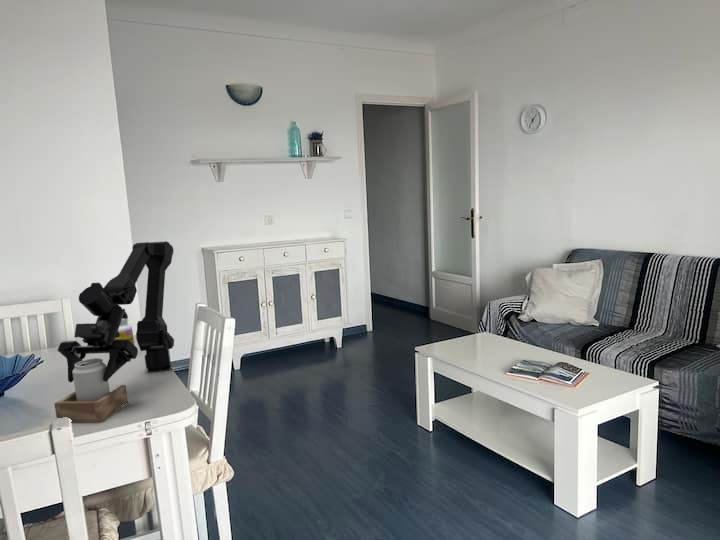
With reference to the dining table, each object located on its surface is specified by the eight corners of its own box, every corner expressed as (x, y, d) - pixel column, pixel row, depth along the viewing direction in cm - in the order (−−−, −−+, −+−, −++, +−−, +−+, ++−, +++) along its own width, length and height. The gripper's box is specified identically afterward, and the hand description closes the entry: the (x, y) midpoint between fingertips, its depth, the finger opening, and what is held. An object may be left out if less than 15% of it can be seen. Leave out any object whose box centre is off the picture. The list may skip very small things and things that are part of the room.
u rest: (87, 403, 141) (84, 385, 141) (128, 403, 140) (125, 385, 139) (57, 422, 130) (54, 403, 130) (101, 422, 129) (98, 402, 128)
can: (73, 410, 135) (65, 363, 133) (103, 400, 141) (96, 355, 139) (87, 416, 130) (79, 368, 129) (117, 405, 136) (110, 359, 134)
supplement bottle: (130, 357, 181) (125, 320, 179) (110, 359, 181) (105, 321, 179) (138, 351, 187) (133, 315, 185) (119, 353, 187) (114, 316, 186)
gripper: (56, 310, 137) (31, 367, 128) (125, 307, 134) (104, 365, 125) (81, 332, 146) (59, 387, 137) (146, 330, 143) (128, 385, 134)
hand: (86, 381), depth 133 cm, fingers open, 9 cm apart
